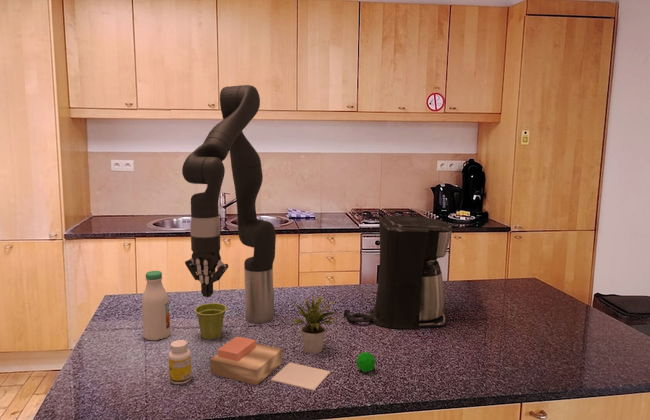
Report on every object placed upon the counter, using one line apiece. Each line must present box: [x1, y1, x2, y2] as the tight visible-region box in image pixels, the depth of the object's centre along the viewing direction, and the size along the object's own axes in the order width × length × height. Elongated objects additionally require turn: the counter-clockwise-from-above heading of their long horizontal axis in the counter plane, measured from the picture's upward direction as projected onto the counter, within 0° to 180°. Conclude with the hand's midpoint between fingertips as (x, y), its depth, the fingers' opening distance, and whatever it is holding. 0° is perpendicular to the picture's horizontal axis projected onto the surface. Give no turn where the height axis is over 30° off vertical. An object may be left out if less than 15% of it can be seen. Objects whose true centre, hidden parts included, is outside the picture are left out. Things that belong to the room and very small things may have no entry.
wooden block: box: [209, 343, 283, 386], centre depth 133 cm, size 13×14×4 cm
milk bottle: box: [141, 270, 171, 341], centre depth 151 cm, size 8×8×20 cm
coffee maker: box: [343, 215, 454, 330], centre depth 163 cm, size 23×32×34 cm
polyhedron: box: [355, 351, 377, 373], centre depth 132 cm, size 5×5×5 cm
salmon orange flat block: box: [217, 336, 257, 361], centre depth 133 cm, size 9×6×2 cm, turn 156°
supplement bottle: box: [168, 339, 193, 385], centre depth 126 cm, size 5×5×10 cm
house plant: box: [292, 294, 340, 354], centre depth 142 cm, size 14×14×16 cm
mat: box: [270, 362, 331, 391], centre depth 129 cm, size 10×12×1 cm
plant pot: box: [194, 302, 227, 340], centre depth 152 cm, size 9×9×9 cm
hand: (207, 296), depth 135 cm, fingers closed
